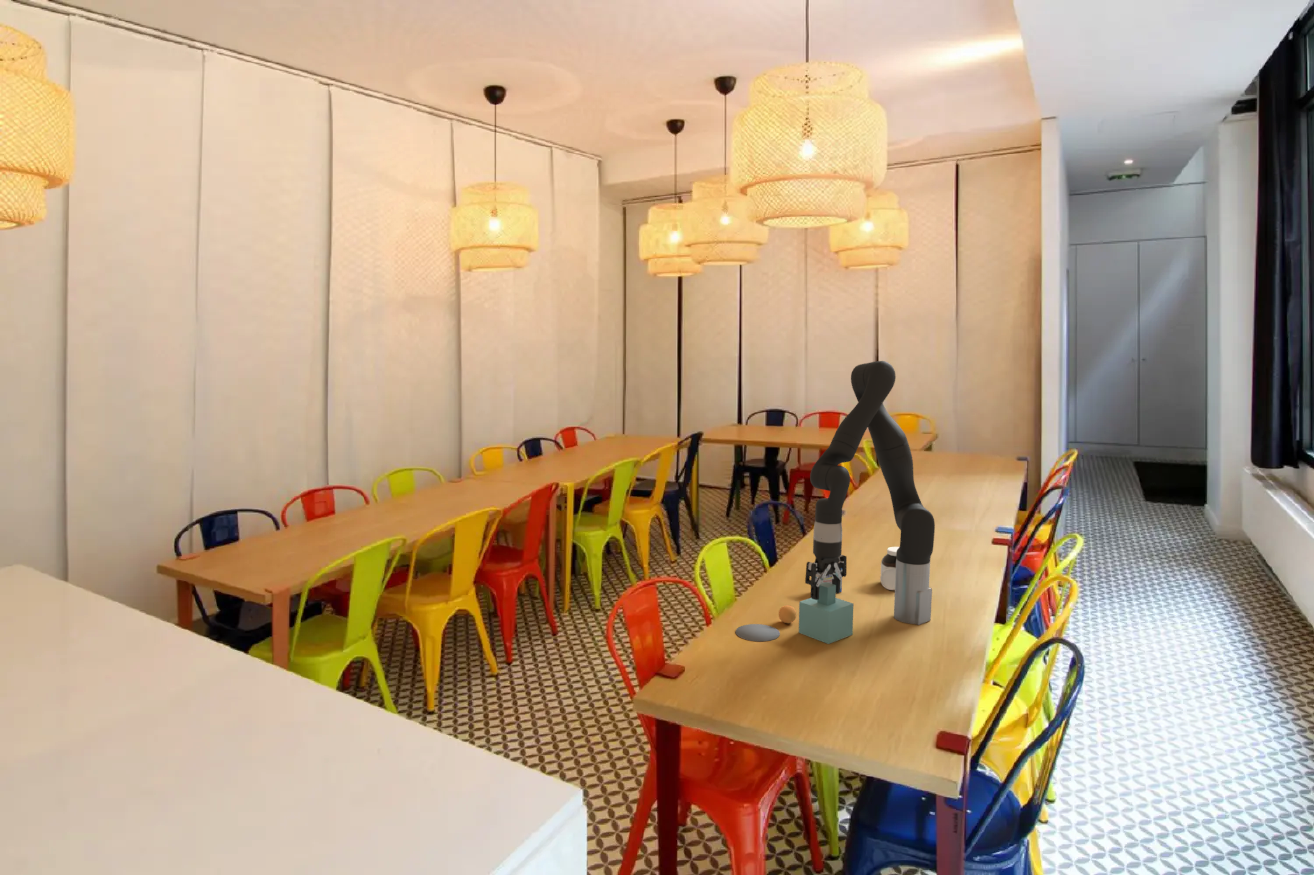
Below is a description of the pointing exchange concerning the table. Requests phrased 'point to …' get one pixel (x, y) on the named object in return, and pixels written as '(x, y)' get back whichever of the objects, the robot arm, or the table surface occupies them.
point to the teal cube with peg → (826, 616)
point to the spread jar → (889, 568)
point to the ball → (787, 614)
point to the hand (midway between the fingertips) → (825, 596)
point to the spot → (757, 632)
